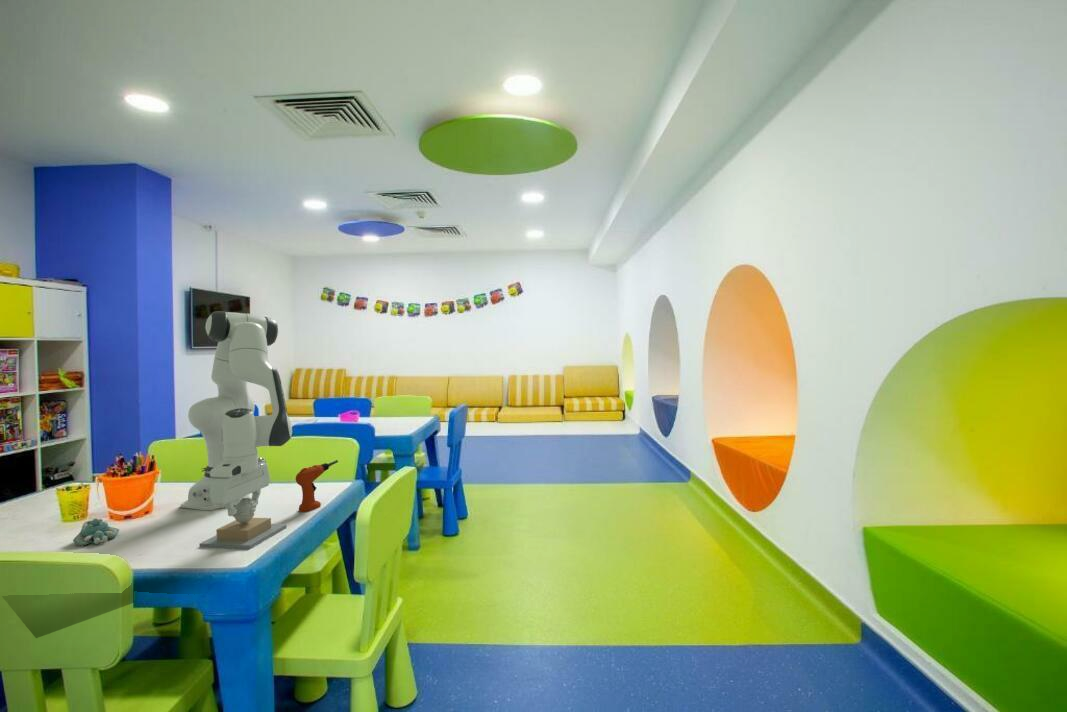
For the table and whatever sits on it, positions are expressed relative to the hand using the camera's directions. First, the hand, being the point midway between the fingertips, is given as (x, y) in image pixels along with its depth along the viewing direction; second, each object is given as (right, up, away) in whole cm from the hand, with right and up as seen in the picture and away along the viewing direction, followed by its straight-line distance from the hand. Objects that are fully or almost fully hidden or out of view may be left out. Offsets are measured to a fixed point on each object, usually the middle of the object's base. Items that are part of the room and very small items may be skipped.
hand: (243, 510), depth 151 cm
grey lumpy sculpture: (0, -4, +1) cm, 4 cm away
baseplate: (0, -8, 0) cm, 8 cm away
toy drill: (+11, -7, +29) cm, 32 cm away
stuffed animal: (-45, -10, +1) cm, 46 cm away
